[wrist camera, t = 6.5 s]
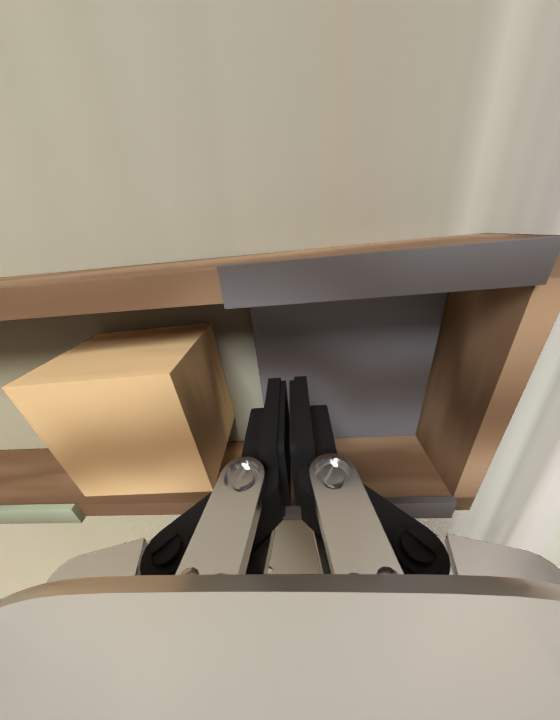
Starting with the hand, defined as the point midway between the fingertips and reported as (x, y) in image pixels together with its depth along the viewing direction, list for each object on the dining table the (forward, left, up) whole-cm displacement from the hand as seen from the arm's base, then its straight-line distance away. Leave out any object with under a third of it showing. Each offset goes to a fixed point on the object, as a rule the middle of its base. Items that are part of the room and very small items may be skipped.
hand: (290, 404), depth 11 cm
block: (0, -7, -3) cm, 7 cm away
